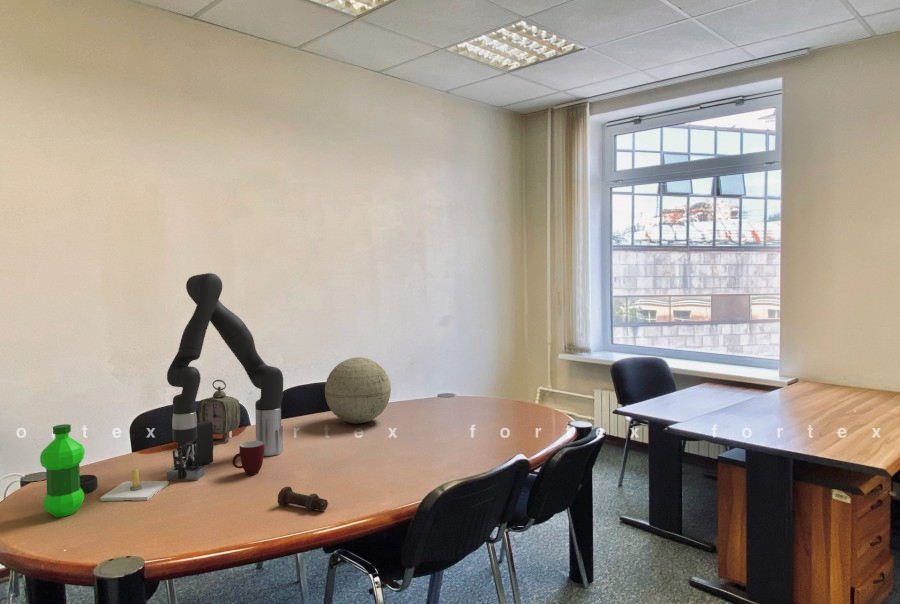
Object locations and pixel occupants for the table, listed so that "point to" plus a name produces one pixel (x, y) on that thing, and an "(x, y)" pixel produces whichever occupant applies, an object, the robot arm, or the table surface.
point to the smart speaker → (88, 483)
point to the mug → (250, 456)
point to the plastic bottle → (62, 473)
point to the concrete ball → (357, 390)
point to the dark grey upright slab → (204, 443)
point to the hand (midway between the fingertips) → (185, 475)
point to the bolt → (301, 500)
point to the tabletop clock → (220, 412)
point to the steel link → (191, 473)
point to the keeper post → (134, 489)
